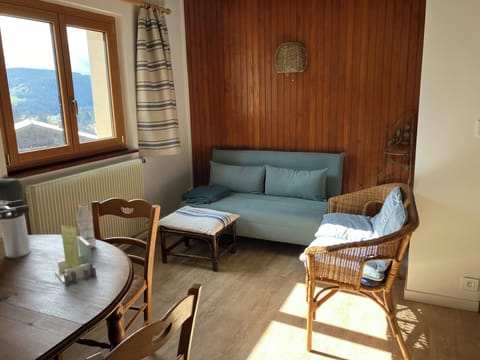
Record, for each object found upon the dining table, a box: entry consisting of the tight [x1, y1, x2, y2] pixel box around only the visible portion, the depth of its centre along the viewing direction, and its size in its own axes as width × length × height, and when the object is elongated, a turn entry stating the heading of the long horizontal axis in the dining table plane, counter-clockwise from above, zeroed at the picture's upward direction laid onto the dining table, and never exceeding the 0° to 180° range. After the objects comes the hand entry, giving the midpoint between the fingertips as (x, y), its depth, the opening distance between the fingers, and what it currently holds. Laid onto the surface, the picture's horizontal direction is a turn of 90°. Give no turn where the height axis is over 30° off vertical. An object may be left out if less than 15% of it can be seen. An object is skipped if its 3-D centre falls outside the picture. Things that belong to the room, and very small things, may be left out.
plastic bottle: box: [76, 203, 97, 249], centre depth 171 cm, size 6×7×20 cm
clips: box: [63, 264, 97, 287], centre depth 144 cm, size 2×11×4 cm, turn 129°
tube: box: [60, 224, 80, 269], centre depth 147 cm, size 6×5×20 cm
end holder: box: [54, 236, 94, 285], centre depth 149 cm, size 11×11×12 cm
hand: (25, 205), depth 135 cm, fingers open, 8 cm apart
